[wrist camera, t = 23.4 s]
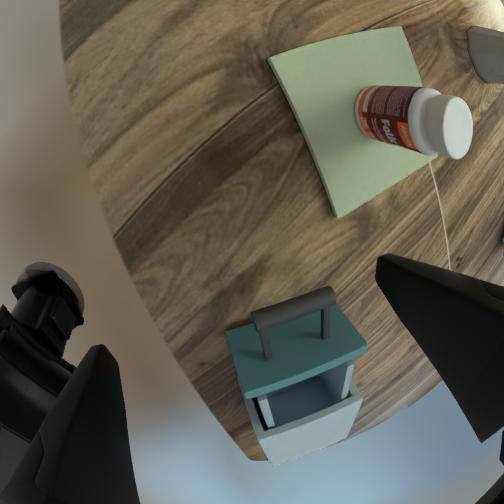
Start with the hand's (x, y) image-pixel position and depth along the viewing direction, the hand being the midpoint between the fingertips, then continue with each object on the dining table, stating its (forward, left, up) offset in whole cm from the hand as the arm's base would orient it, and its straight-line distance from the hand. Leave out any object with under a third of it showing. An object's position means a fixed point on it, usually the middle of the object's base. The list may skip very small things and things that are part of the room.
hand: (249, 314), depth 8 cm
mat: (+15, +4, -13) cm, 20 cm away
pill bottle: (+15, +4, -12) cm, 20 cm away
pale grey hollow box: (+4, -29, -13) cm, 32 cm away
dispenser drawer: (+4, -17, -12) cm, 21 cm away
